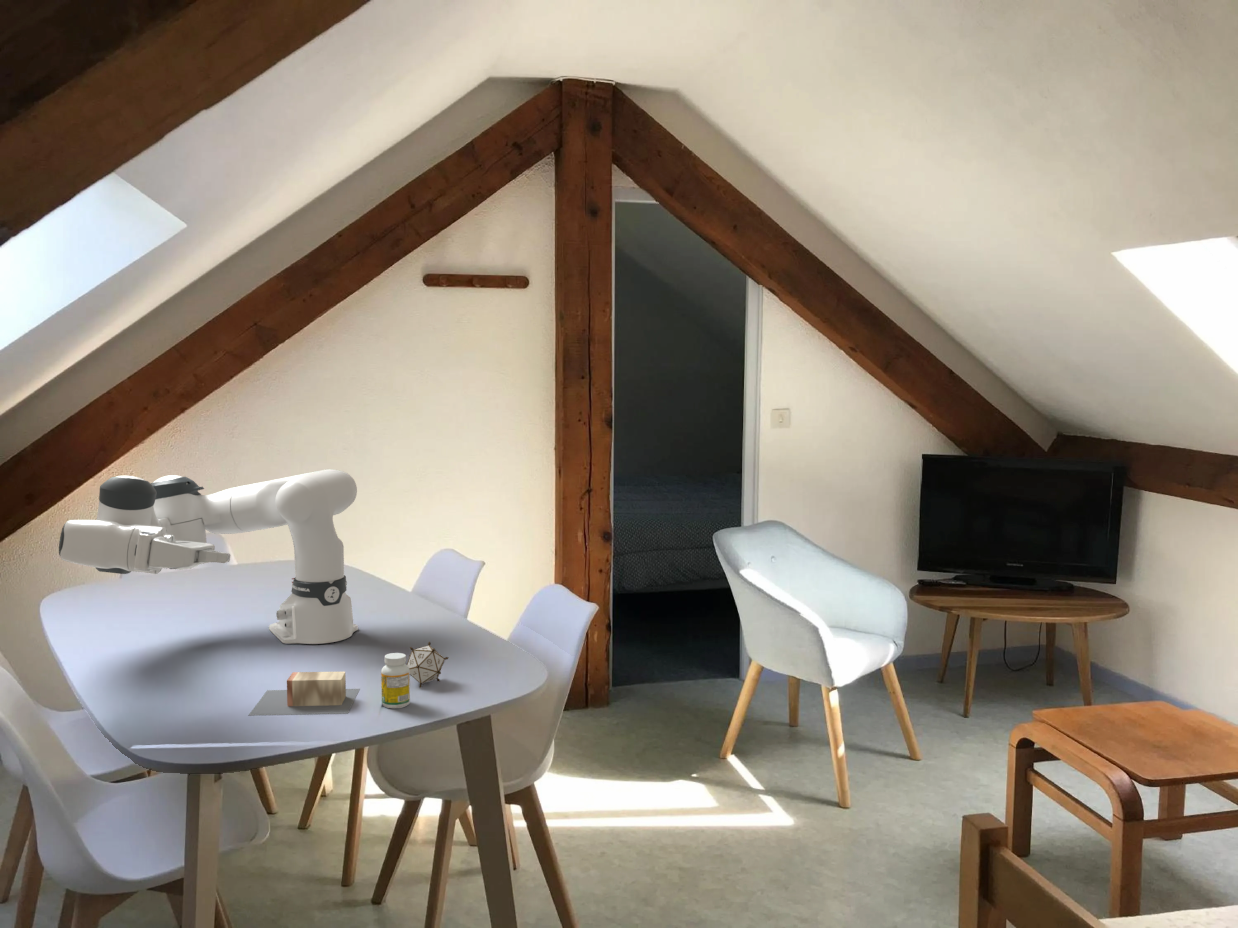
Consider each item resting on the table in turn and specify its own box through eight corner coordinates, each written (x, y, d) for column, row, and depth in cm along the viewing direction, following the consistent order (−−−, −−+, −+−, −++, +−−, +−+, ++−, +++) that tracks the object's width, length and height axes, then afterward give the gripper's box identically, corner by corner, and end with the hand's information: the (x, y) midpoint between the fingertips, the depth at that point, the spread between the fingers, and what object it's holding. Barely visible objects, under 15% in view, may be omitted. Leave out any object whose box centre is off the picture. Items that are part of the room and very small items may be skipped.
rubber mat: (248, 718, 193) (248, 715, 192) (267, 693, 206) (267, 690, 206) (347, 716, 194) (347, 713, 194) (359, 691, 208) (359, 688, 208)
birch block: (286, 680, 197) (340, 679, 198) (292, 672, 202) (345, 671, 203) (287, 706, 197) (341, 705, 198) (293, 697, 202) (345, 696, 203)
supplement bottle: (406, 709, 198) (406, 660, 197) (378, 708, 198) (377, 659, 197) (412, 699, 204) (412, 651, 203) (385, 699, 204) (384, 651, 203)
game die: (424, 697, 216) (434, 651, 221) (450, 691, 211) (459, 644, 216) (389, 684, 211) (400, 637, 216) (415, 677, 205) (425, 630, 210)
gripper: (164, 563, 205) (237, 571, 207) (132, 569, 185) (214, 578, 187) (169, 531, 205) (241, 540, 208) (138, 534, 185) (219, 543, 187)
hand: (228, 558), depth 197 cm, fingers closed
